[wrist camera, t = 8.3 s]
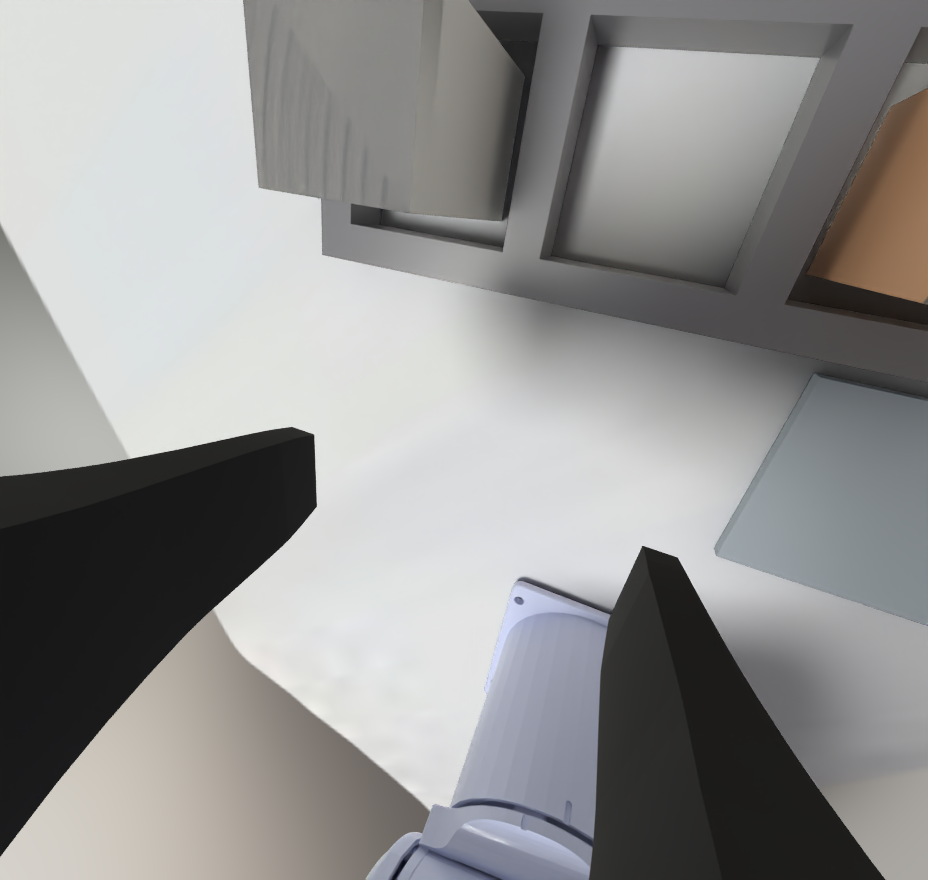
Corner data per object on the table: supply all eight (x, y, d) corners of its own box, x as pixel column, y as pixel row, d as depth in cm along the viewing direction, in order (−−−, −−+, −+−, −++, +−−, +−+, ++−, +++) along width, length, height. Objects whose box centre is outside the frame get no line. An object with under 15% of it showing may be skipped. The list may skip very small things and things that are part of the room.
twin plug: (501, 221, 15) (409, 213, 9) (400, 204, 16) (258, 187, 10) (524, 76, 13) (427, -55, 7) (408, 67, 14) (238, -54, 8)
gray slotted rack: (1009, 387, 12) (1071, 413, 10) (353, 252, 17) (322, 254, 16) (1327, 2, 8) (1508, -60, 6) (356, -19, 13) (316, -55, 12)
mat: (938, 621, 15) (946, 632, 15) (714, 548, 17) (716, 555, 17) (1123, 440, 12) (1142, 448, 11) (814, 373, 13) (819, 377, 13)
